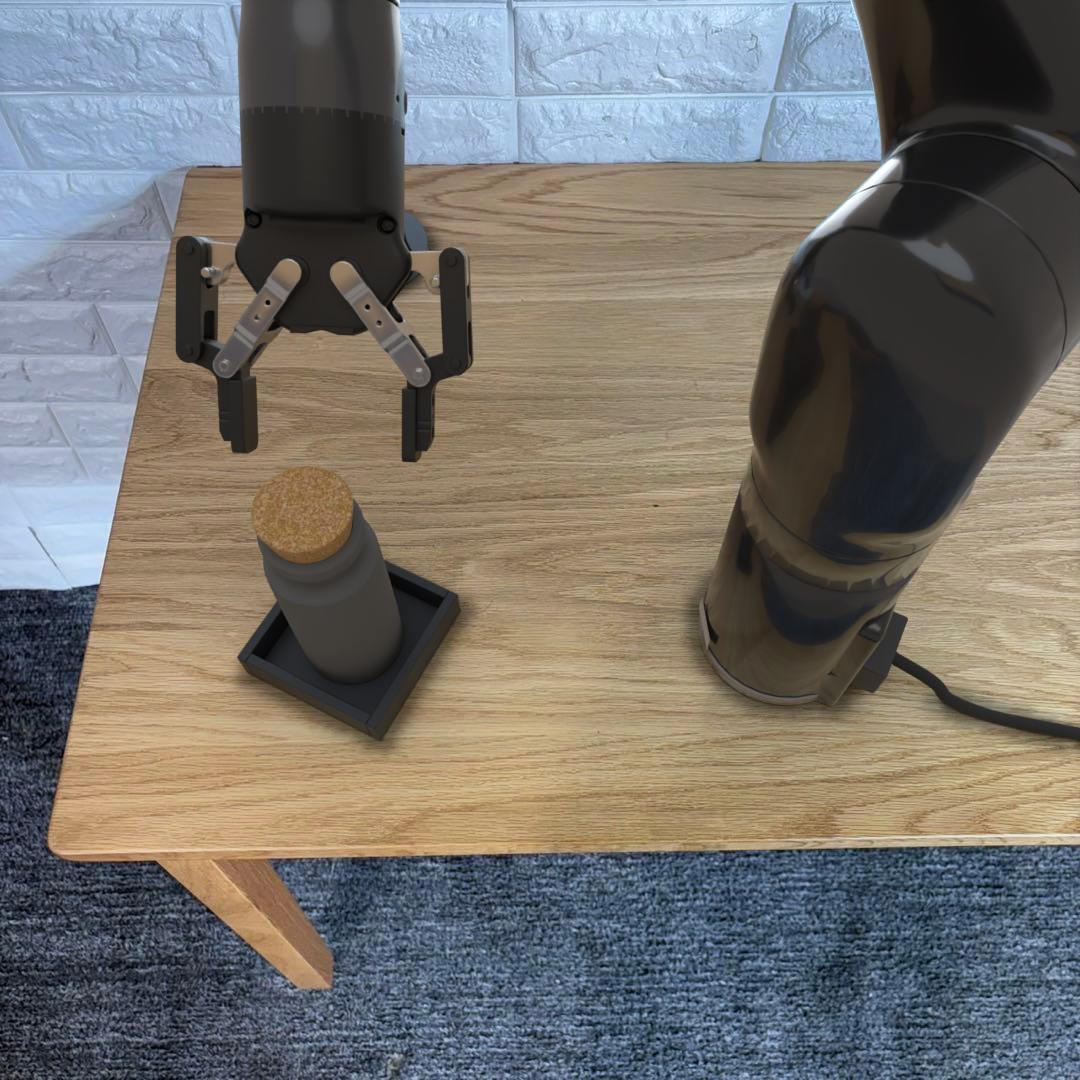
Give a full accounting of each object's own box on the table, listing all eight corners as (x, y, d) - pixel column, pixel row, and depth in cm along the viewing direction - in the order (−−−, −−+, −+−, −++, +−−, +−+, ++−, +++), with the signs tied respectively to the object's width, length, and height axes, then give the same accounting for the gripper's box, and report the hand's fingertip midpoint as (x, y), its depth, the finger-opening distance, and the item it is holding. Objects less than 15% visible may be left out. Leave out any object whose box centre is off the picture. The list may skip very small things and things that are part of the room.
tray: (461, 611, 60) (458, 593, 58) (380, 742, 56) (374, 728, 54) (333, 550, 62) (326, 531, 60) (246, 672, 58) (236, 657, 56)
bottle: (389, 694, 57) (344, 572, 44) (291, 675, 58) (219, 550, 45) (415, 604, 60) (380, 465, 47) (322, 587, 61) (262, 445, 48)
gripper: (137, 92, 43) (160, 463, 47) (467, 104, 43) (459, 477, 47) (201, 117, 50) (216, 437, 55) (484, 128, 50) (476, 449, 54)
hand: (328, 455), depth 51 cm, fingers open, 8 cm apart
